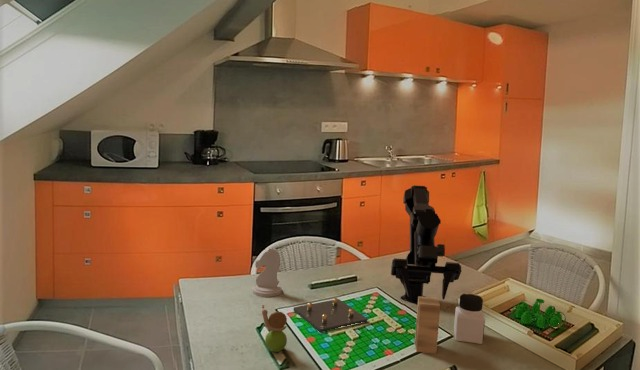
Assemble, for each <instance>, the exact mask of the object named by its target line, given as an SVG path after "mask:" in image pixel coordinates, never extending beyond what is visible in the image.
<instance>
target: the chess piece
mask: <svg viewBox="0 0 640 370" xmlns="http://www.w3.org/2000/svg"><path fill="white" fill-rule="evenodd" d="M254 265H255V268H257V270H261V268H262V267H265V268H264V269H263V270H262V271H261V272H260V273H259V274H258V276H257V277H256V279H255V283H256V284H255V285H254V286H253V287H252V289H251V290H252V291H251V292H252V294H253V295H255V296H257V297H261V298H272V297H276V296H279V295H281V294H282V292H283V289H282V287H281V285H280V284H279V283H280V280H278V271H279V269H280V266H281V256H280V253H279V251H278V250H277V249H276V248H274V247H269V248H268V250H266V251H264V253H263V254H262V255H261V257H260V259H258V260H256V261H255V264H254Z"/></svg>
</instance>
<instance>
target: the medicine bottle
mask: <svg viewBox="0 0 640 370" xmlns="http://www.w3.org/2000/svg"><path fill="white" fill-rule="evenodd" d="M483 304H484V300H483V297H481V296H480V295H478V294H476V293H473V292H472V293H471V292H466V293H462V294H461V295H460V296H459V304H458V305H459V306H456V307H455V310H454V312H455V313H454V322H453V323H454V324H453V332H454V340H455V341H456V342H457V341H458V342H464V343H471V344H479V345H482V344H483V342H484V334H485V323H486V319H485V316H484V312H483Z"/></svg>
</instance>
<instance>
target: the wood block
mask: <svg viewBox="0 0 640 370" xmlns="http://www.w3.org/2000/svg"><path fill="white" fill-rule="evenodd" d="M416 309H417V310H416V321H415V334H414V335H415V336H414V345H415V352H417V353H429V354H437V349H438V337H439V336H438V335H439V323H440V315H441V314H440V313H441V303H440V301H439V298H438V297H431V296H426V297H420V296H418V304H417V308H416Z"/></svg>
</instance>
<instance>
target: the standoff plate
mask: <svg viewBox="0 0 640 370" xmlns="http://www.w3.org/2000/svg"><path fill="white" fill-rule="evenodd" d="M293 311H294V312H295V314H297V315H298V316H299V315H300V316H299V317H301V318H302V319H303V320H304V321H305V320H306V321H307V322H306V321H305V322H306V323H308V324H309V323H310V324H311V325H312V326H313V329H314V330H316V329H317V330H318V331H319V332H321V333H324V332H323V331H325V332H328V331H327V330H330V329H334V330H336V329H335V328H338V327H341V326H347V325H351V324H355V323H361V322H365V323H368V318H367V317H366V316H365V315H363V314H361V313H360V312H359V311H357V310H355V309H354V308H352V307H351V306H349V305H348V304H347V303H345V302H344V301H343V300H341V299H339V298H337V297H333V298H332V299H331V300H326V301H321V302H316V303H312V302H307V304H305V305H300V306H294V307H293ZM310 324H309V325H310ZM361 324H362V323H361ZM311 325H310V326H311ZM312 326H311V327H312ZM347 327H348V326H347ZM338 329H339V328H338ZM317 330H316V331H317ZM318 331H317V332H318ZM330 331H331V330H330ZM319 332H318V333H319Z"/></svg>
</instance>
